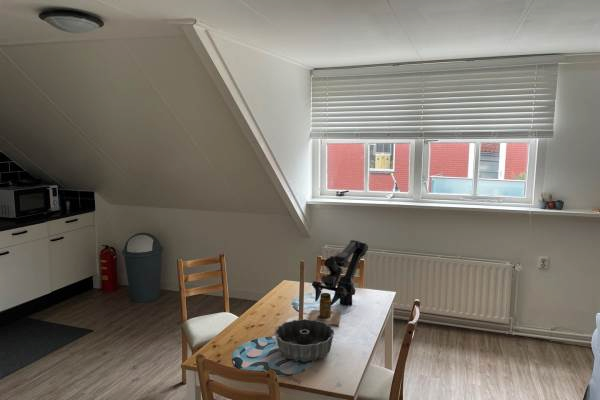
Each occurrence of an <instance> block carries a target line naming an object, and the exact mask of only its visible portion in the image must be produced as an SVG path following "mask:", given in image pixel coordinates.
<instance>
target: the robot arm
mask: <svg viewBox="0 0 600 400" xmlns="http://www.w3.org/2000/svg"><path fill="white" fill-rule="evenodd" d="M368 249H369V245H368V244H367V242H360V241H359V240H356V239H355V240H354V239H352V240H350V241H349V243H348V244H347V246H346V247H345V248H344V249H343V250H342V251H341V252H337V254H335V255H334V256H332V255H331V256H329V257H328V258H327V259H326V260H324V266H325V268H326V269H327V271H328V272H329V274H327V275H321V279H320V281H317V280H314V281H312V283H311V286H312V287H313V289H314V290H315V297H314V298H315V300H314V301H315V302H318V300H319V299H320V297H321V294H322V291H323V290H328V291H332V292H334V295H333V297H332V299H331V306H333V305H334V304H335V303H336V302H337V301H338V300H339V303H340V306H347V307H349V306H351V307H352V306H353V296H355V295H356V288H355V287H354V286H355V285H354V284H355V283H354V278H355V275H356V272H357V269H358V266H359V264H360V261H361V259H362V258H363V257H365V256H366V254H367V252H368ZM350 257H351V259H350ZM349 259H350V261H349ZM348 263H349V265H348ZM347 265H348V267H347ZM345 267H347V269H346V272H345V275H344V276H341V275H343V273H344V271H343V268H345ZM322 283H323V284H322Z"/></svg>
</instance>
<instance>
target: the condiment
mask: <svg viewBox="0 0 600 400" xmlns="http://www.w3.org/2000/svg"><path fill="white" fill-rule="evenodd" d="M331 298H332V297H331V294H330V293H329V292H323V293H322V292H321V294H320V296H319V310H320V313H319V315H318V316H317V318H316V319H320V320H328V321H330V320H331V317H332V315H333V314H331V311H332V305H331V302H332V299H331Z"/></svg>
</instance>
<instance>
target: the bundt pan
mask: <svg viewBox="0 0 600 400" xmlns="http://www.w3.org/2000/svg"><path fill="white" fill-rule="evenodd" d="M274 335H275V339H276V343H277V347H278V351H279V353H280V354H281V355H283V356H284V357H285V358H287V359H289V360H293V361H295V362H298V361H300V362H308V361H311V362H315V361H317V360H320V359H322V358H324V357H325V355H326V356H327V355H328V354H329V353H330V351H331V348H332V343H333V339H334V335H335V330H334V328H333V326H329V325H327V324H326V323H324V322H320V321H316V320H308V318H307V319H306V318H304V319H303V318H301V319H292V320H291V321H285V322H283V323H281V325H279V326H278V325H277V327H276V329H275V330H274Z"/></svg>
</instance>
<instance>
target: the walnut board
mask: <svg viewBox="0 0 600 400" xmlns="http://www.w3.org/2000/svg"><path fill="white" fill-rule="evenodd" d="M319 313H320V309H311V310H310V313H309V316H308V318H307V319H308V320H316V321H320V322H324V323H326V324H327V325H329V326H332V328H333V327H335V328H339V325H340V321H341V316H342V312H341V311H333V310H331V314H333V315H332V317H331V320H330V321H328V320H320V319H316V318H317V316H318V315H319Z"/></svg>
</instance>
